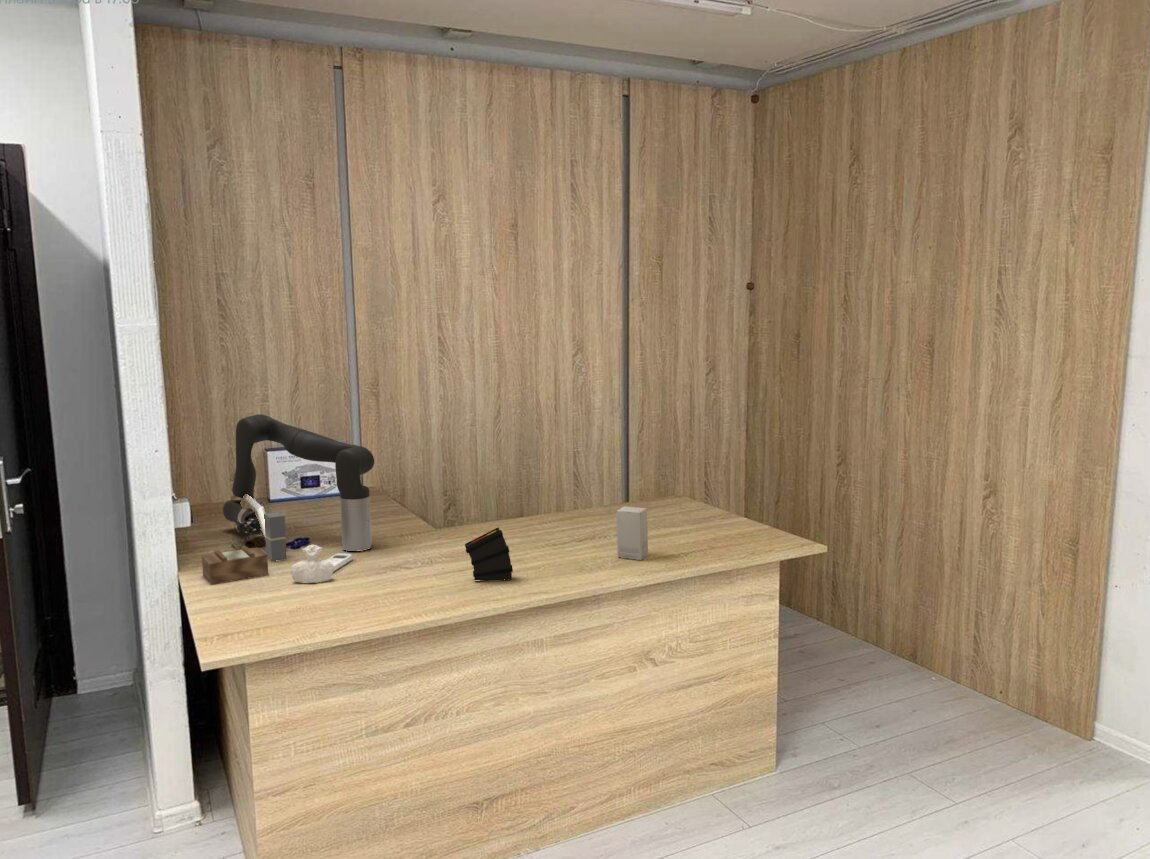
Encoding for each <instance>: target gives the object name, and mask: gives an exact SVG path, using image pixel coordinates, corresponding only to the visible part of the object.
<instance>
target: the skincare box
mask: <svg viewBox="0 0 1150 859" xmlns="http://www.w3.org/2000/svg"><path fill="white" fill-rule="evenodd" d="M648 532H649V531H648V508H647V507H638V506H637V507H636V506H625V505H624V506H622V507H621V508H619V509H618V510H616V537H617V538H616V539H617V540H616V541H617V542H616V543H617V544H616V545H617V558H618V557H622V558H629V559H628V560H631V559H636V560H635V561H640V560H641V561H643V560H644V559H646V558H647V557H648V556H649V546H648V545H649V544H648V543H649V539H648ZM647 555H648V556H647ZM646 556H647V557H646ZM622 558H621V559H622ZM642 559H643V560H642Z"/></svg>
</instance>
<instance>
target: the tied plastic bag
mask: <svg viewBox="0 0 1150 859" xmlns="http://www.w3.org/2000/svg"><path fill="white" fill-rule="evenodd" d="M301 550H302V552H303V553H305V555H304V556H307V557H306V559H305V560H299V561H298V562H296V563H294V564H292V566H290V574H291V578H292V580H293V581H294V582H295V583H302V584H304V583H307V584H313V583H315V584H319V583H318V582H320V583H323V582H328V581H330V580H331V579H332V576H333V573H334V567H335V565H334V564H333V563H332V562H331V561H327V560H326V559H319V557H318V556H320V555H321V552H322V551H323V547H321V546H318V545H316V544H310V545H308V546H306V547H304V548H301Z"/></svg>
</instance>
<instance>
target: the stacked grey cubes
mask: <svg viewBox="0 0 1150 859" xmlns="http://www.w3.org/2000/svg"><path fill="white" fill-rule="evenodd" d="M285 518H286V517H285V515H284V514H283V513H281V512H280V511H276V512H268V513H264V519H265V529H264V533H265V534H264V537H265V538H264V540H265V553H266V554H267V558H268V560H269V559H270V560H271V561H275V562H277V561H276V560H281V561H283V560H282V559H287V539H286V538H287V536H286V520H285ZM270 560H269V561H270ZM271 561H270V562H271Z"/></svg>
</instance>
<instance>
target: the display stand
mask: <svg viewBox="0 0 1150 859" xmlns="http://www.w3.org/2000/svg"><path fill="white" fill-rule="evenodd" d="M268 562H269V559H268V558H267V554H266V552H265V551H264V550H262V549H260V548H259V547H250V548H249V547H248V546H246V545H241V549H236V550H228V551H222V552H221V550H219V549H217V550H213V553H210V554H207V555H206V554H205V555H201V567H202V577H203V578H205V579H207V580H208V581H207V582H208V583H209V584H210V585H215V584H221V582H223V583H227V582H226V581H229V582H232V581H231V580H235V581H238V580H237V579H240V580H244V579H243V578H246V579H249V578H248V577H252V578H256V577H255V576H258V577H262V576H261V575H264V576H268V575H269V563H268Z"/></svg>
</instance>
